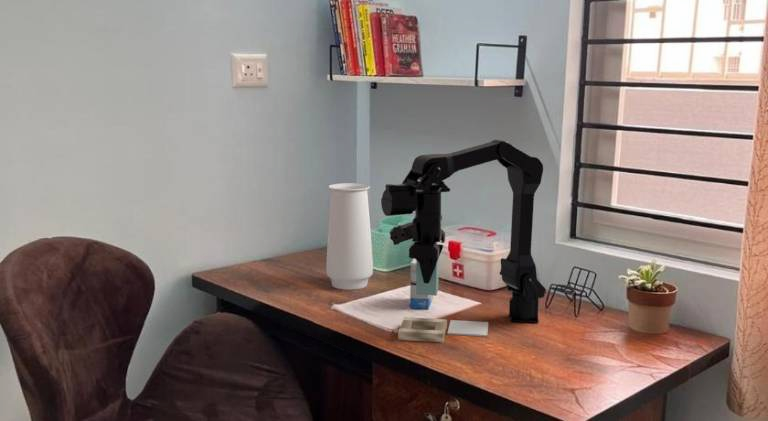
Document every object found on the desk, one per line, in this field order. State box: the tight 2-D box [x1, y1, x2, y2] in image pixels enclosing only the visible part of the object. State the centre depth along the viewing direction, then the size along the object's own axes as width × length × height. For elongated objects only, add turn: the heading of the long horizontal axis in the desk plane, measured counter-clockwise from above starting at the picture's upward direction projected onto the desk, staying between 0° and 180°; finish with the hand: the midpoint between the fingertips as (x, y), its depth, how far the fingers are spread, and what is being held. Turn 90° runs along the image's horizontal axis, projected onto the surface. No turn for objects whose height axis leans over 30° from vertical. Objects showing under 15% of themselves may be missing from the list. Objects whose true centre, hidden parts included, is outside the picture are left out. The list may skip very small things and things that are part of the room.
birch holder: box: [397, 316, 448, 344], centre depth 172 cm, size 10×10×2 cm
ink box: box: [409, 258, 434, 310], centre depth 193 cm, size 8×5×12 cm, turn 168°
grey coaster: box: [446, 319, 489, 338], centre depth 175 cm, size 9×9×1 cm
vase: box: [325, 182, 374, 291], centre depth 209 cm, size 13×13×28 cm
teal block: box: [416, 257, 440, 297], centre depth 170 cm, size 4×4×8 cm
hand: (427, 280), depth 170 cm, fingers closed on teal block, 4 cm apart
